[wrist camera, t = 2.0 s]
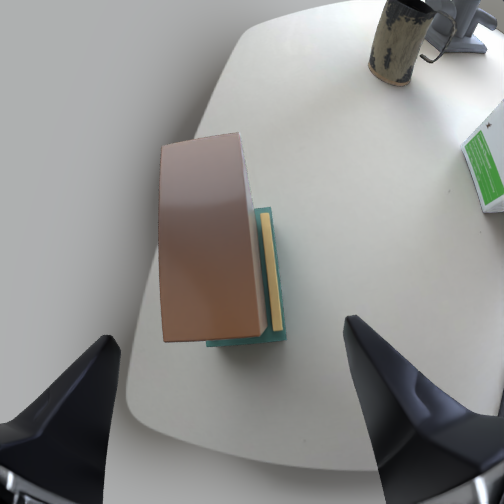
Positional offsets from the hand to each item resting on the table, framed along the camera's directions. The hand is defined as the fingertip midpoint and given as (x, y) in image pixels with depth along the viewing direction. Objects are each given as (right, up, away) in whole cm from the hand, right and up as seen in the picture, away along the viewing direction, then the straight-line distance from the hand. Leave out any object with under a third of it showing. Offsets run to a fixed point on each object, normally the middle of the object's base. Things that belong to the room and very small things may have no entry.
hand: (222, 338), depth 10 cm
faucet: (+37, +38, +18) cm, 56 cm away
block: (0, +2, +9) cm, 9 cm away
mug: (+18, +24, +16) cm, 34 cm away
